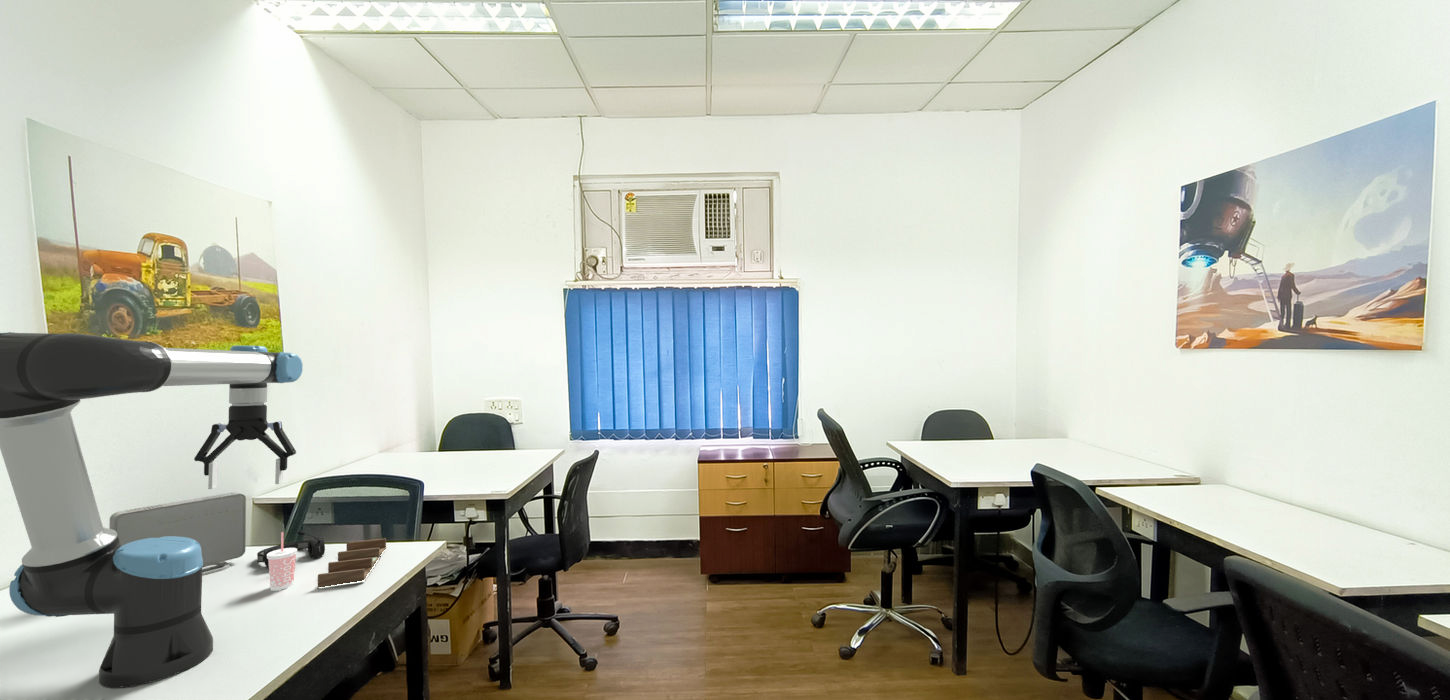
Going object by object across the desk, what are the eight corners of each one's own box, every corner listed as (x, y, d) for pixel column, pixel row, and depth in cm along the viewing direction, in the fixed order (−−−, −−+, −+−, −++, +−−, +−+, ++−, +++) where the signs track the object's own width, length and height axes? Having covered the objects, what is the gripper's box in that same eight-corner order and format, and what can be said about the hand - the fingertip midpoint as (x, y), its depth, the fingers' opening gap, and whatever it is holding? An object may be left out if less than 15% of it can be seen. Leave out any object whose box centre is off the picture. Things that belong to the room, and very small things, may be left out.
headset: (276, 536, 146) (248, 532, 157) (277, 572, 146) (249, 566, 156) (333, 523, 158) (303, 520, 168) (334, 556, 157) (304, 551, 168)
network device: (114, 598, 132) (115, 516, 132) (106, 590, 136) (106, 511, 136) (248, 563, 153) (248, 493, 154) (236, 557, 158) (237, 489, 158)
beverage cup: (270, 594, 134) (270, 538, 134) (263, 587, 138) (263, 533, 138) (300, 585, 139) (300, 531, 139) (293, 579, 142) (293, 527, 143)
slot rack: (363, 582, 141) (363, 569, 141) (317, 589, 137) (317, 575, 137) (386, 549, 165) (386, 538, 165) (347, 554, 161) (347, 542, 161)
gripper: (310, 402, 150) (309, 478, 149) (193, 404, 140) (191, 486, 139) (302, 403, 143) (300, 484, 142) (177, 406, 133) (175, 493, 132)
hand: (246, 485), depth 141 cm, fingers open, 13 cm apart
